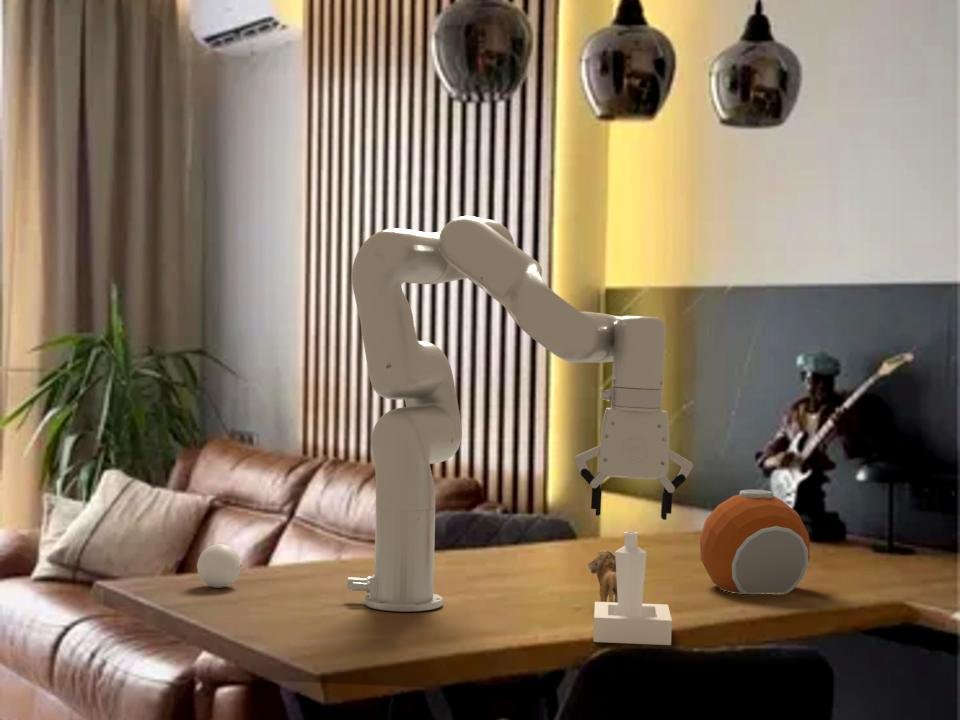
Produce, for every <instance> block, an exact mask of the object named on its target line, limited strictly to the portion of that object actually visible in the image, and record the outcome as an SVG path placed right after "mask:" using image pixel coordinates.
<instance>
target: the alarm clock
mask: <svg viewBox="0 0 960 720" xmlns="http://www.w3.org/2000/svg"><path fill="white" fill-rule="evenodd" d="M699 546H700V548H699V549H700V561H701V563H702V565H703V567H704V569H705V571H706V572H707V574H708V576H709V577H710V579H711V582H712V583H713V584H715V585H716V586H717V588H718V587H719V588H720V589H721V590H725V591H729V592H735V593H742V594H762V593H764V594H767V593H770V594H771V593H775V594H774V595H777V594H776V593H780V594H779V595H782V594H781V593H787V594H789V593H791V592H792V591H793V590H794V589H795V588H796V587H797V586H798V585H799V583H800V582H801V581H802V580H803V579H804V576H805V574H806V571H807V568H808V565H809V562H810V559H811V558H810V557H811V552H810V551H811V550H810V535H809V531H808V530H807V528H806V526H805V524H804V523H803V520H802V518H801V516H800V515H799V513H798V512H797V511H796V509H794V508H792V507H791V506H790V505H788V504H787V503H786V502H784V501H783V500H782V499H780V498H779V497H777V496H775V495H774V493H773V492H772V491H770V490H765V489H743V490H740V491H739V494H736V495H733V496H732V495H731V497H729V498H728V499H725V500H724V501H723V502H721V503H720V504H717V506H716V507H715V508H714V509H713V510H712V512H711V513H710V514H709V515H708V517H706V519H705V521H704V525H703V527H702V530H701V533H700V536H699ZM719 588H718V589H719ZM720 589H719V590H720ZM721 590H720V591H721ZM725 591H724V592H725Z"/></svg>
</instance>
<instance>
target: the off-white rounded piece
mask: <svg viewBox="0 0 960 720" xmlns="http://www.w3.org/2000/svg"><path fill="white" fill-rule="evenodd" d="M242 566H243V565H242V561H241V558H240V555H239V553H238V552H237V551H236V550H235V549H234V547H232V546H229V545H227V544H225V543H217V544H212V545H210V546H208V547H206V548H204V550H203V551H202V552H201V554H200V556H199V557H198V560H197V564H196V569H197V574H198V576H199V577H200V580H201V581H203V582H204V583H205V584H206V586H207V585H208V586H209V587H211V588H219V589H220V588H225V587H228V586H230V585H232V584H233V583H234V582H235V581H236V580H237V579H238V578H239V575H240V573H241V568H242Z"/></svg>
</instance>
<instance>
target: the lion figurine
mask: <svg viewBox="0 0 960 720" xmlns="http://www.w3.org/2000/svg"><path fill="white" fill-rule="evenodd" d="M597 554H598V555H597V556H596V557H595V558H594V559H593V560H592V561H590V562H588V563H587V566H588V569H589V571H590V573H591V575H595V574H596V577H597V579H598V583H599V597H600V602H607V599H608V597H609V602H617V603H618V595H617V576H616V557H615V555H614V554H613V553H612V552H611V551H610V550H605V549H604V550H599V551H598V553H597Z"/></svg>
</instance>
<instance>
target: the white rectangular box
mask: <svg viewBox="0 0 960 720" xmlns="http://www.w3.org/2000/svg"><path fill="white" fill-rule="evenodd" d="M593 614H594V615H593V616H594V617H593V618H594V619H593V642H594V643H609V644H610V643H611V644H612V643H613V644H630V645H631V644H635V645H636V644H637V645H658V646H661V645H662V646H672V625H673V621H672V620H673V619H672V615H671V612H670V608H669V604H662V603H642V613H641V617H638V616H619V614H618V603H617V602H614V601H613V602H610V601H606V602H601V601H594V612H593Z"/></svg>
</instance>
